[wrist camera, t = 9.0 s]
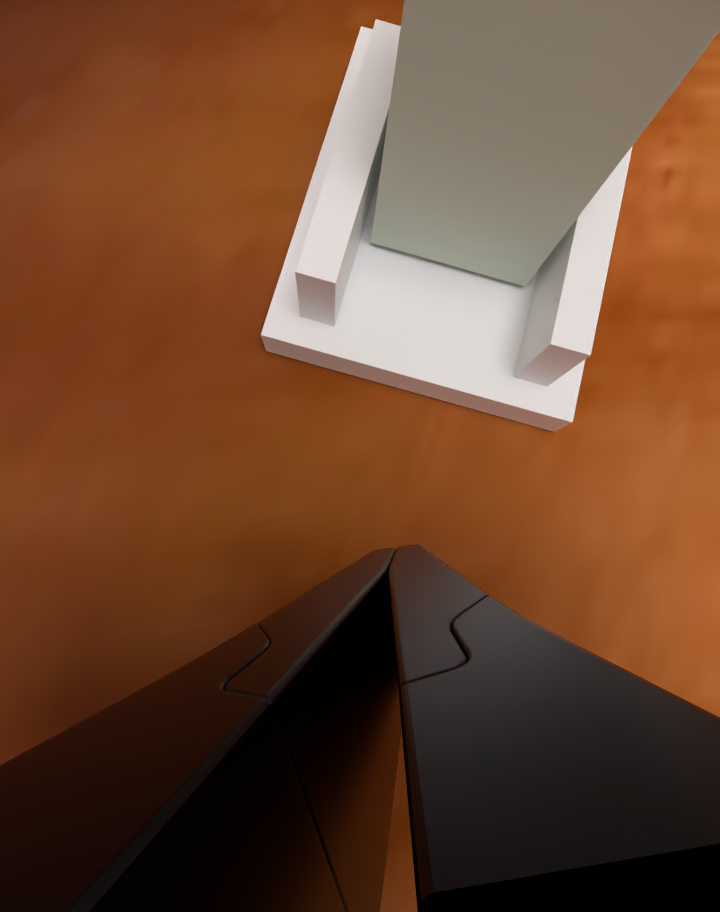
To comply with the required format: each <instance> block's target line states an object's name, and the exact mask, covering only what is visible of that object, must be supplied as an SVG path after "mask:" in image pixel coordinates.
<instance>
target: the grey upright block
mask: <svg viewBox="0 0 720 912" xmlns="http://www.w3.org/2000/svg"><path fill="white" fill-rule="evenodd" d="M719 31H720V0H404V7H403V15H402V22H401V29H400V36H399V43H398V50H397V57H396V65H395V72H394V79H393V86H392V93H391V100H390V107H389V115H388V122H387V129H386V136H385V143H384V150H383V157H382V165H381V172H380V179H379V186H378V193H377V200H376V208H375V215H374V222H373V229H372V236H371V243H374V244H378V245H381V246H385V247H388V248H392V249H395V250H399V251H402V252H406V253H409V254H413V255H417V256H420V257H424V258H427V259H431V260H434V261H438V262H441V263H445V264H448V265H452V266H455V267H459V268H462V269H466V270H469V271H473V272H476V273H480V274H483V275H487V276H490V277H494V278H497V279H501V280H504V281H508V282H512V283H515V284H519V285H522V286H526V285H527V283H528V282H529V281H530V279H531V278H532V277H533V275H534V274H535V273H536V272H537V270H538V269H539V268H540V266H541V265H542V264H543V262H544V261H545V260H546V258H547V257H548V256H549V255H550V253H551V252H552V251H553V249H554V248H555V247H556V245H557V244H558V243H559V241H560V240H561V239H562V237H563V236H564V235H565V234H566V232H567V231H568V230H569V228H570V227H571V226H572V224H573V223H574V222H575V220H576V219H577V218H578V216H579V215H580V214H581V213H582V211H583V210H584V209H585V207H586V206H587V205H588V203H589V202H590V201H591V199H592V198H593V197H594V195H595V194H596V193H597V192H598V190H599V189H600V188H601V186H602V185H603V184H604V182H605V181H606V180H607V178H608V177H609V176H610V174H611V173H612V172H613V171H614V169H615V168H616V167H617V165H618V164H619V163H620V161H621V160H622V159H623V157H624V156H625V155H626V153H627V152H628V151H629V150H630V148H631V147H632V146H633V144H634V143H635V142H636V140H637V139H638V138H639V136H640V135H641V134H642V133H643V131H644V130H645V129H646V127H647V126H648V125H649V123H650V122H651V121H652V119H653V118H654V117H655V115H656V114H657V113H658V112H659V110H660V109H661V108H662V106H663V105H664V104H665V102H666V101H667V100H668V98H669V97H670V96H671V94H672V93H673V92H674V91H675V89H676V88H677V87H678V85H679V84H680V83H681V81H682V80H683V79H684V77H685V76H686V75H687V73H688V72H689V71H690V70H691V68H692V67H693V66H694V64H695V63H696V62H697V60H698V59H699V58H700V56H701V55H702V54H703V52H704V51H705V50H706V49H707V47H708V46H709V45H710V43H711V42H712V41H713V39H714V38H715V37H716V35H717V34H718V33H719Z"/></svg>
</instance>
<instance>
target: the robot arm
mask: <svg viewBox="0 0 720 912" xmlns="http://www.w3.org/2000/svg"><path fill="white" fill-rule="evenodd" d="M401 728H402V738H403V749H404V760H405V772H406V783H407V795H408V806H409V817H410V829H411V840H412V851H413V863H414V874H415V886H416V897H417V908H418V912H720V717H718V716H716V715H714V714H712V713H710V712H708V711H706V710H704V709H702V708H700V707H698V706H696V705H694V704H692V703H690V702H688V701H686V700H684V699H682V698H680V697H678V696H676V695H674V694H672V693H670V692H668V691H666V690H664V689H662V688H660V687H658V686H657V685H655V684H653V683H651V682H649V681H647V680H645V679H643V678H641V677H639V676H637V675H635V674H633V673H631V672H629V671H627V670H625V669H623V668H621V667H619V666H617V665H615V664H613V663H611V662H609V661H607V660H605V659H603V658H601V657H599V656H597V655H595V654H593V653H591V652H590V651H588V650H586V649H584V648H582V647H580V646H578V645H576V644H574V643H572V642H570V641H568V640H566V639H564V638H562V637H560V636H558V635H556V634H554V633H552V632H550V631H548V630H546V629H544V628H542V627H541V626H539V625H537V624H535V623H533V622H531V621H530V620H528V619H526V618H524V617H522V616H521V615H519V614H517V613H516V612H514V611H513V610H511V609H510V608H508V607H507V606H505V605H504V604H502V603H501V602H499V601H498V600H496V599H495V598H494V597H492V596H489V595H488V594H487V593H485V592H484V591H483V590H481V589H480V588H478V587H477V586H476V585H474V584H473V583H472V582H470V581H469V580H467V579H466V578H465V577H463V576H462V575H460V574H459V573H458V572H456V571H455V570H453V569H452V568H451V567H449V566H448V565H447V564H445V563H444V562H442V561H441V560H440V559H438V558H437V557H435V556H434V555H433V554H431V553H430V552H428V551H427V550H426V549H424V548H423V547H422V546H420V545H417V544H415V545H408V546H400V547H398V548H397V550H396V549H394V548H386V549H380V550H374V551H372V552H371V553H369V554H367V555H366V556H364V557H363V558H361V559H359V560H358V561H356V562H355V563H353V564H351V565H350V566H348V567H347V568H345V569H343V570H342V571H340V572H339V573H337V574H335V575H334V576H332V577H331V578H329V579H327V580H326V581H324V582H323V583H321V584H319V585H318V586H316V587H315V588H313V589H311V590H310V591H308V592H307V593H305V594H303V595H302V596H300V597H299V598H297V599H295V600H294V601H292V602H291V603H289V604H287V605H286V606H284V607H283V608H281V609H279V610H278V611H276V612H275V613H273V614H271V615H270V616H268V617H267V618H265V619H263V620H262V621H260V622H259V623H258V624H257V625H256V624H254V625H252V626H251V627H249V628H247V629H246V630H244V631H243V632H241V633H239V634H238V635H236V636H234V637H233V638H231V639H229V640H228V641H226V642H224V643H223V644H221V645H219V646H218V647H216V648H214V649H213V650H211V651H209V652H207V653H206V654H204V655H202V656H200V657H198V658H197V659H195V660H193V661H191V662H189V663H188V664H186V665H184V666H182V667H181V668H179V669H177V670H175V671H173V672H171V673H169V674H168V675H166V676H164V677H162V678H160V679H158V680H157V681H155V682H153V683H151V684H149V685H147V686H146V687H144V688H142V689H140V690H138V691H136V692H134V693H133V694H131V695H129V696H127V697H125V698H123V699H122V700H120V701H118V702H116V703H114V704H112V705H110V706H109V707H107V708H105V709H103V710H101V711H99V712H98V713H96V714H94V715H92V716H90V717H88V718H86V719H85V720H83V721H81V722H79V723H77V724H75V725H74V726H72V727H70V728H68V729H66V730H64V731H63V732H61V733H59V734H57V735H55V736H53V737H51V738H50V739H48V740H46V741H44V742H42V743H40V744H39V745H37V746H35V747H33V748H31V749H29V750H27V751H26V752H24V753H22V754H20V755H18V756H16V757H15V758H13V759H11V760H9V761H7V762H5V763H3V764H2V765H0V912H380V905H381V897H382V889H383V880H384V872H385V863H386V855H387V846H388V838H389V829H390V821H391V812H392V804H393V795H394V787H395V778H396V770H397V761H398V753H399V744H400V736H401Z"/></svg>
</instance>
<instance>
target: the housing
mask: <svg viewBox="0 0 720 912" xmlns="http://www.w3.org/2000/svg"><path fill="white" fill-rule="evenodd" d="M400 29H401V26H397V25H394V24H391V23H387V22H384V21H380V20H377V19H376V21H375V24H374V27H373V30H372V29H369V28H365V27H362V26H361V29H360V32H359V35H358V38H357V41H356V44H355V47H354V50H353V54H352V57H351V60H350V63H349V66H348V69H347V72H346V75H345V78H344V81H343V84H342V87H341V90H340V93H339V96H338V100H337V103H336V106H335V109H334V112H333V115H332V118H331V121H330V124H329V127H328V130H327V133H326V136H325V139H324V142H323V146H322V149H321V152H320V155H319V158H318V161H317V164H316V167H315V170H314V173H313V176H312V179H311V182H310V185H309V189H308V192H307V195H306V198H305V201H304V204H303V207H302V210H301V213H300V216H299V219H298V222H297V225H296V228H295V231H294V235H293V238H292V241H291V244H290V247H289V250H288V253H287V256H286V259H285V262H284V265H283V268H282V271H281V274H280V277H279V281H278V284H277V287H276V290H275V293H274V296H273V299H272V302H271V305H270V308H269V311H268V314H267V317H266V320H265V323H264V327H263V330H262V333H261V337H262V340H263V343H264V346H265V349H266V351H268V352H271V353H275V354H278V355H282V356H285V357H289V358H292V359H296V360H300V361H303V362H307V363H310V364H314V365H317V366H321V367H325V368H328V369H332V370H335V371H339V372H342V373H346V374H350V375H353V376H357V377H360V378H364V379H367V380H371V381H374V382H378V383H382V384H385V385H389V386H392V387H396V388H399V389H403V390H407V391H410V392H414V393H417V394H421V395H424V396H428V397H431V398H435V399H439V400H442V401H446V402H449V403H453V404H456V405H460V406H464V407H467V408H471V409H474V410H478V411H481V412H485V413H488V414H492V415H496V416H499V417H503V418H506V419H510V420H513V421H517V422H521V423H524V424H528V425H531V426H535V427H538V428H542V429H545V430H549V431H553V432H554V431H556V430H558V429H560V428H562V427H564V426H566V425H568V424H570V423H572V422H573V417H574V412H575V407H576V403H577V398H578V393H579V388H580V383H581V378H582V373H583V368H584V363H585V359H586V358H588V357H589V356H590V355H591V351H592V346H593V341H594V336H595V331H596V326H597V321H598V316H599V311H600V306H601V301H602V296H603V291H604V286H605V281H606V276H607V271H608V266H609V261H610V256H611V251H612V246H613V241H614V236H615V231H616V226H617V221H618V216H619V211H620V206H621V201H622V196H623V191H624V186H625V181H626V176H627V171H628V166H629V161H630V156H631V151H632V147H631V148H630V150H629V151H628V152H627V153H626V155H625V156H624V157H623V159H622V160H621V161H620V163H619V164H618V165H617V167H616V168H615V169H614V171H613V172H612V173H611V174H610V176H609V177H608V178H607V180H606V181H605V182H604V184H603V185H602V186H601V188H600V189H599V190H598V192H597V193H596V194H595V195H594V197H593V198H592V199H591V201H590V202H589V203H588V205H587V206H586V207H585V209H584V210H583V211H582V213H581V214H580V215H579V216H578V218H577V219H576V220H575V222H574V223H573V224H572V226H571V227H570V228H569V230H568V231H567V232H566V234H565V235H564V236H563V237H562V239H561V240H560V241H559V243H558V244H557V245H556V247H555V248H554V249H553V251H552V252H551V253H550V255H549V256H548V257H547V258H546V260H545V261H544V262H543V264H542V265H541V266H540V268H539V269H538V270H537V272H536V273H535V274H534V275H533V277H532V278H531V279H530V281H529V282H528V283H527V285H526V286H522V285H519V284H515V283H512V282H508V281H504V280H501V279H497V278H494V277H490V276H487V275H483V274H480V273H476V272H473V271H469V270H466V269H462V268H459V267H455V266H452V265H448V264H445V263H441V262H438V261H434V260H431V259H427V258H424V257H420V256H417V255H413V254H409V253H406V252H402V251H399V250H395V249H392V248H388V247H385V246H381V245H378V244H374V243H371V236H372V229H373V222H374V215H375V208H376V200H377V193H378V186H379V179H380V172H381V165H382V157H383V150H384V143H385V136H386V129H387V122H388V115H389V107H390V100H391V93H392V86H393V79H394V72H395V65H396V57H397V50H398V43H399V36H400Z"/></svg>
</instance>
